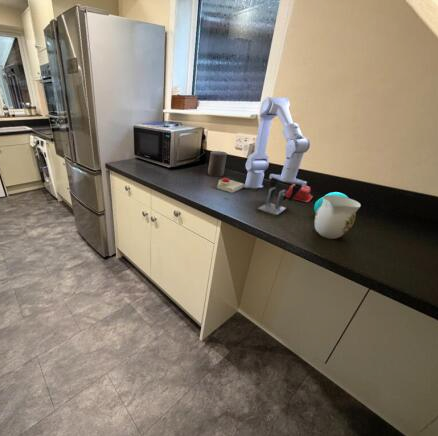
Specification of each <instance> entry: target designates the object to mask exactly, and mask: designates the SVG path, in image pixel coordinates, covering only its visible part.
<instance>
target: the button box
mask: <svg viewBox="0 0 438 436" xmlns="http://www.w3.org/2000/svg"><path fill="white" fill-rule="evenodd" d="M216 185H217V186H216V188H217V189H219V190H221V191H225V192H228V193H231V194H233V193H235V192H237V191H239V190H241V189H243V188H244V189H245V187H244V185H245V183H243V182H239V181H236V180H233V179H229V182H222V178H221V179H219V180H218V184H216Z"/></svg>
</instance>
